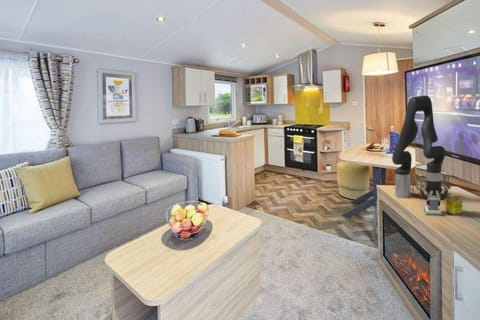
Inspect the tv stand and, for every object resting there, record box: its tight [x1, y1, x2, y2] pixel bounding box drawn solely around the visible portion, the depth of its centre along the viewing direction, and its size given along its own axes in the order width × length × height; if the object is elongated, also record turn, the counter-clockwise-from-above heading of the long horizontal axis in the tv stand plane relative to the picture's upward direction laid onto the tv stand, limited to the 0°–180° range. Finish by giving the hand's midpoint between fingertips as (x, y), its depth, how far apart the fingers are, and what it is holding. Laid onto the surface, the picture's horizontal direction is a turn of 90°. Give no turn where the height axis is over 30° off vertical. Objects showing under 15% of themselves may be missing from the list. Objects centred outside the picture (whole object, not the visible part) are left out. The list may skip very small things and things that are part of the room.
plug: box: [428, 195, 438, 210], centre depth 163 cm, size 4×4×7 cm
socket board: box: [423, 206, 444, 217], centre depth 164 cm, size 8×8×2 cm
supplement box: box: [444, 193, 464, 216], centre depth 160 cm, size 6×6×11 cm
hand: (433, 205), depth 163 cm, fingers closed on plug, 4 cm apart
